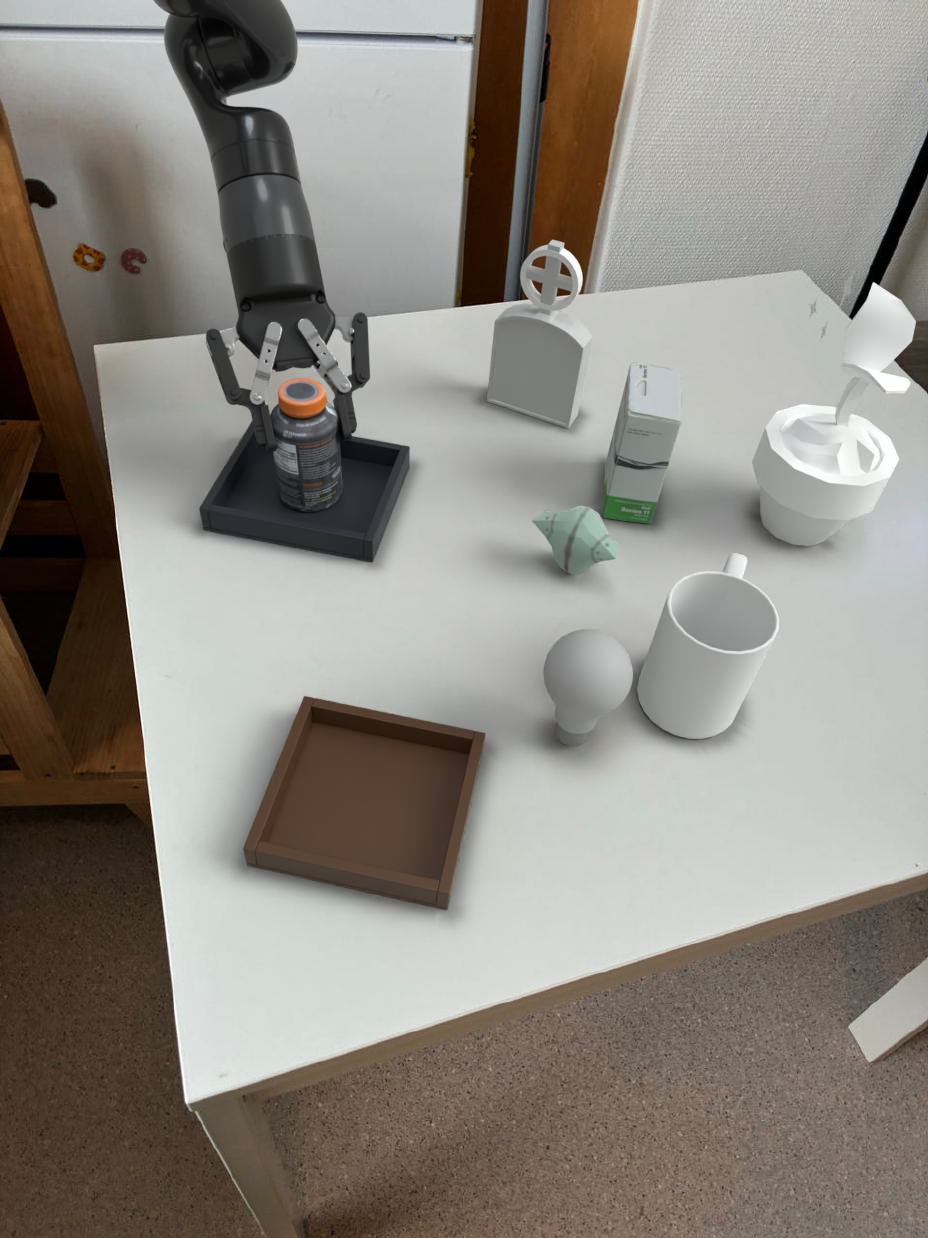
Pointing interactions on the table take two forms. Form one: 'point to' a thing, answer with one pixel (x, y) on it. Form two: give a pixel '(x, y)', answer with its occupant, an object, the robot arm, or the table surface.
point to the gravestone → (541, 344)
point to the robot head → (577, 538)
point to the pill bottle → (306, 446)
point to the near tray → (368, 802)
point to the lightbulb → (585, 681)
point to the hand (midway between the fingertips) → (309, 444)
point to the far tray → (342, 529)
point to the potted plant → (835, 435)
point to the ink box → (642, 442)
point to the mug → (706, 651)
